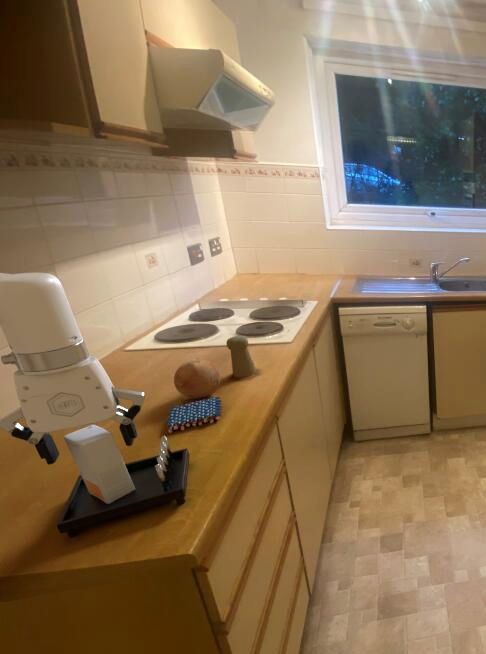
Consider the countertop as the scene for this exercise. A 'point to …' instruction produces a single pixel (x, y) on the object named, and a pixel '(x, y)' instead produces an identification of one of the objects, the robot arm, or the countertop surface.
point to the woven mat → (194, 413)
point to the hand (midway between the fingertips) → (93, 450)
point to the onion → (197, 378)
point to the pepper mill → (240, 357)
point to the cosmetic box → (100, 463)
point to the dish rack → (150, 490)
